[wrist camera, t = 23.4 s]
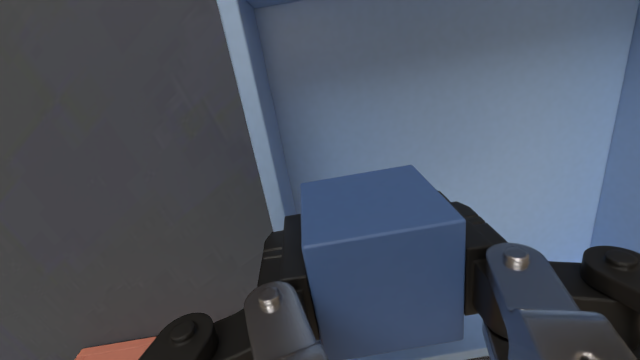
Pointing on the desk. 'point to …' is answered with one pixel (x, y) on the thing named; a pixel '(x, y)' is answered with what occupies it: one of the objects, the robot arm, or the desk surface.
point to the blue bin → (452, 112)
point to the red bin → (117, 350)
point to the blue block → (383, 262)
